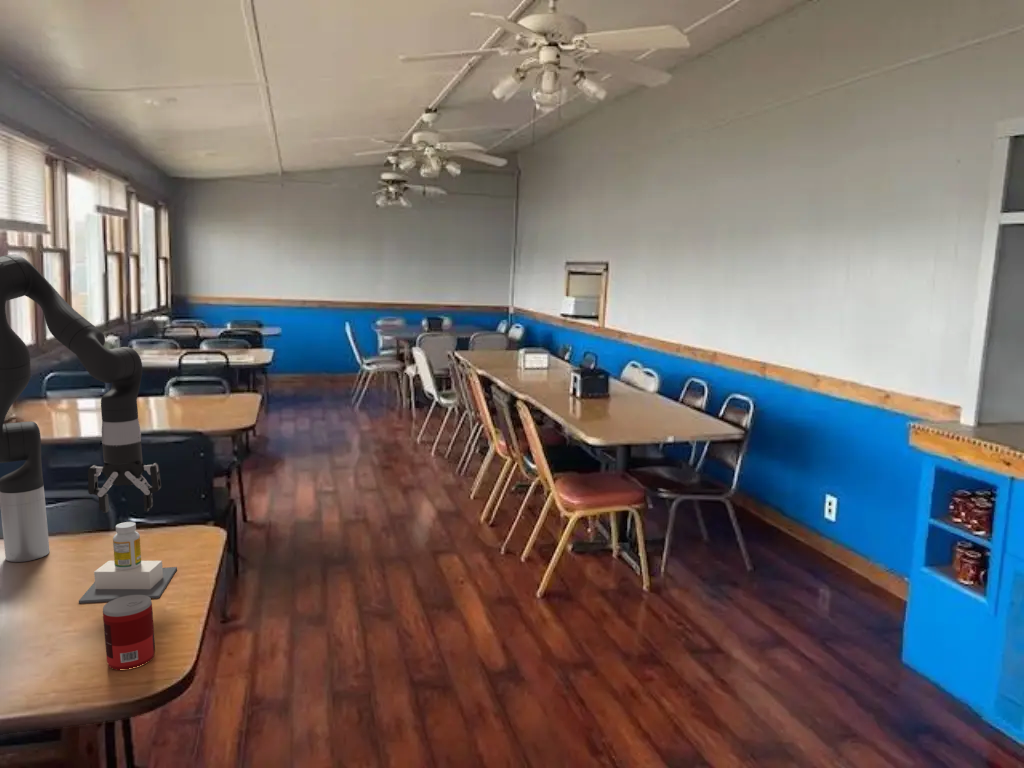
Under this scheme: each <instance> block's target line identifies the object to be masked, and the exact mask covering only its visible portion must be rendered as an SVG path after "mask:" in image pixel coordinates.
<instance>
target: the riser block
mask: <svg viewBox="0 0 1024 768" xmlns="http://www.w3.org/2000/svg"><path fill="white" fill-rule="evenodd" d="M163 568H164V567H163V560H141V565H140V566H138V567H137V568H134V569H130V570H118V569H116V568H115V562H114V560H107V562H105V563H104V564H102V565H101V566H100V567H98V568H97V569H96V570H94V571H93V573H94V574H93V575H94V576H93V577H94V582H95V589H151V588H152V587H153V586H154V585H156V584H157V583H158V582H159V581H160V580H161V579H162V578H163Z"/></svg>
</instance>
